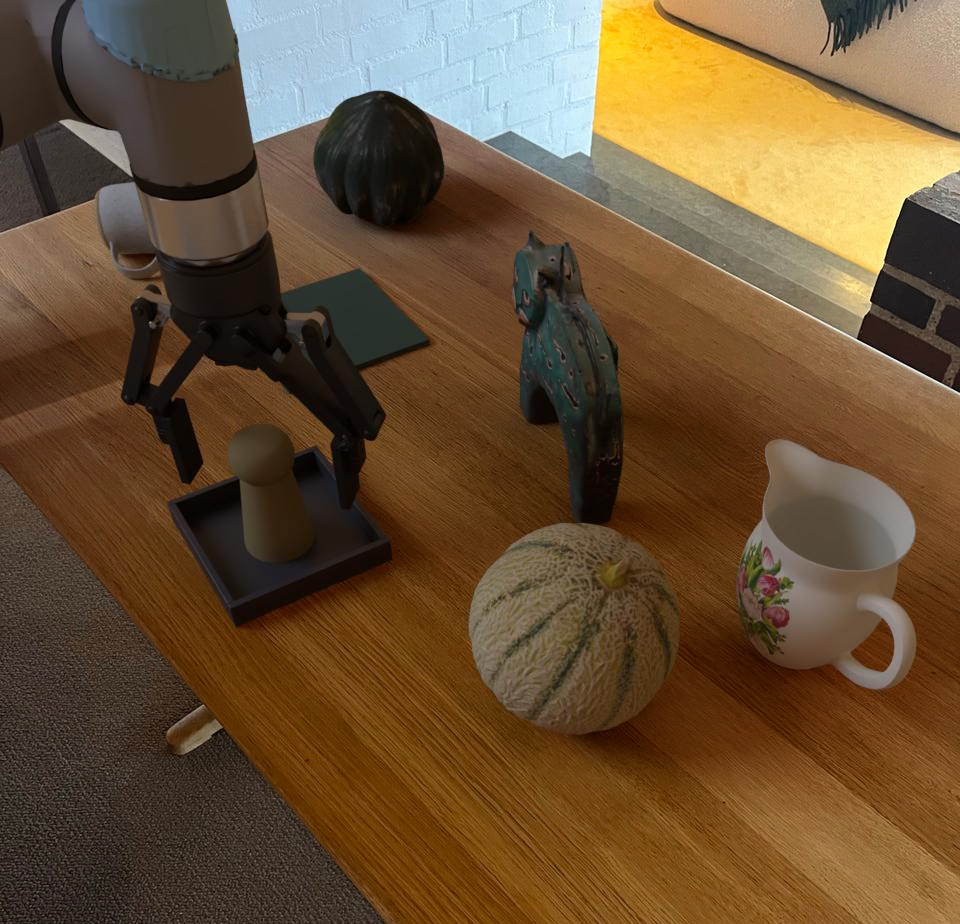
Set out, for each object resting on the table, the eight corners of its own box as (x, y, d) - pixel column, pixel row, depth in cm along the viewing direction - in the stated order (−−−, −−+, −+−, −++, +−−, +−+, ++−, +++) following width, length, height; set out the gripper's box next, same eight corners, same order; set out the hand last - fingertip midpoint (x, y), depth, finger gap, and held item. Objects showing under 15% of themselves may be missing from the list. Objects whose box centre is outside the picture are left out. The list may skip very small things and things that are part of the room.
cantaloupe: (464, 620, 80) (460, 480, 68) (645, 609, 80) (672, 469, 68) (477, 780, 70) (476, 649, 59) (682, 766, 71) (721, 634, 59)
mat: (227, 315, 106) (225, 310, 106) (359, 272, 112) (359, 267, 111) (289, 394, 98) (288, 389, 97) (430, 344, 103) (429, 339, 103)
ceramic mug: (116, 233, 117) (96, 169, 111) (186, 229, 117) (170, 165, 111) (103, 284, 110) (81, 219, 104) (177, 280, 111) (159, 215, 105)
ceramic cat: (503, 397, 97) (507, 199, 82) (566, 387, 98) (582, 189, 83) (564, 537, 85) (582, 336, 70) (635, 523, 86) (668, 322, 71)
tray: (172, 520, 87) (166, 501, 85) (319, 464, 91) (316, 444, 90) (235, 627, 79) (230, 608, 77) (392, 559, 84) (390, 540, 82)
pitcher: (810, 758, 71) (867, 639, 61) (679, 588, 82) (709, 460, 71) (931, 707, 74) (1007, 584, 63) (790, 548, 84) (835, 420, 74)
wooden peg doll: (262, 573, 82) (236, 473, 74) (233, 529, 86) (205, 428, 77) (327, 545, 84) (309, 444, 76) (296, 503, 88) (276, 402, 79)
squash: (350, 119, 123) (312, 53, 109) (465, 139, 121) (442, 74, 106) (326, 233, 124) (284, 184, 110) (440, 255, 122) (413, 207, 108)
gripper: (414, 228, 64) (431, 477, 81) (65, 189, 68) (149, 434, 84) (380, 291, 59) (405, 541, 76) (7, 245, 63) (108, 492, 80)
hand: (270, 485), depth 80 cm, fingers open, 13 cm apart
